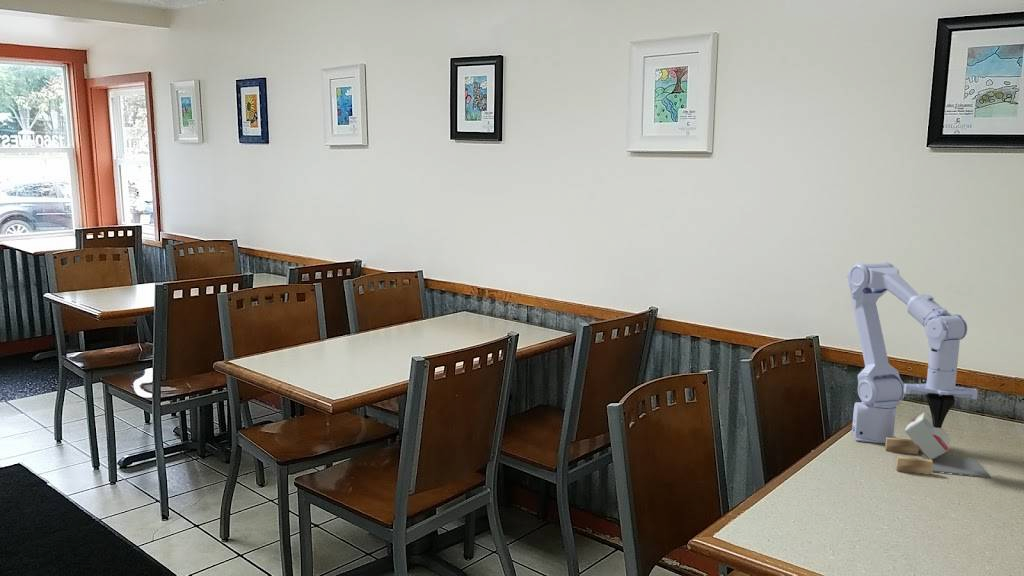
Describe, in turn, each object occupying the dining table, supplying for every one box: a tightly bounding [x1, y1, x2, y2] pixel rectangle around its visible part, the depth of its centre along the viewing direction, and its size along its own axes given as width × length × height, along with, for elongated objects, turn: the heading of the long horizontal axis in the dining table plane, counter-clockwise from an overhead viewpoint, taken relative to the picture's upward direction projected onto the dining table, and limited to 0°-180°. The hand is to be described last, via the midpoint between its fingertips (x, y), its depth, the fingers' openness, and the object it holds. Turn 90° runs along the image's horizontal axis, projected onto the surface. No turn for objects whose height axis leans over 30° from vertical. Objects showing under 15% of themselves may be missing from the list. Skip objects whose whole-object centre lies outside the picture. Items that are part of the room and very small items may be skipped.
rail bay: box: [884, 437, 933, 475], centre depth 179 cm, size 7×14×3 cm, turn 164°
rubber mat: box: [920, 452, 992, 479], centre depth 177 cm, size 12×11×1 cm
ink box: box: [904, 410, 951, 460], centre depth 183 cm, size 9×5×12 cm
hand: (936, 426), depth 177 cm, fingers closed
